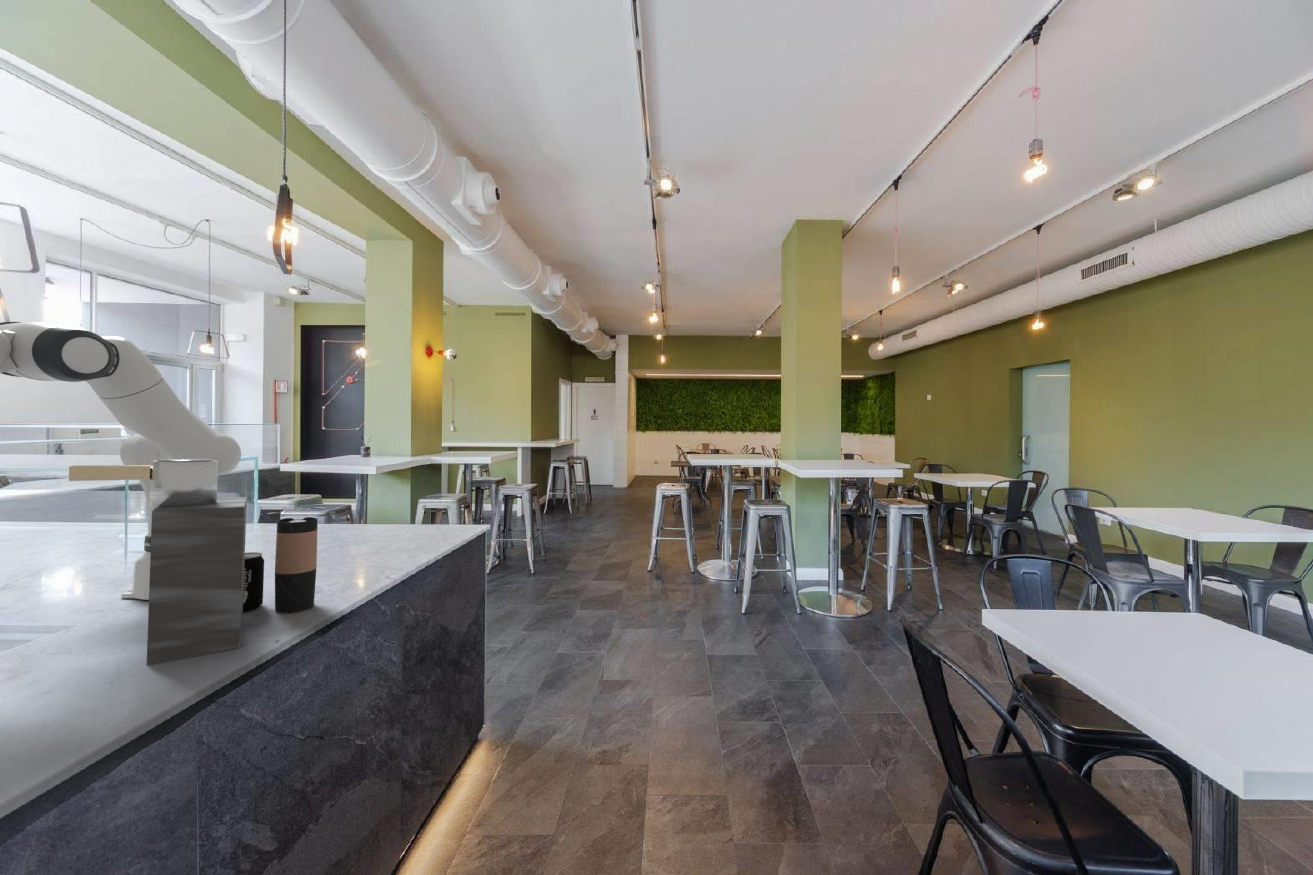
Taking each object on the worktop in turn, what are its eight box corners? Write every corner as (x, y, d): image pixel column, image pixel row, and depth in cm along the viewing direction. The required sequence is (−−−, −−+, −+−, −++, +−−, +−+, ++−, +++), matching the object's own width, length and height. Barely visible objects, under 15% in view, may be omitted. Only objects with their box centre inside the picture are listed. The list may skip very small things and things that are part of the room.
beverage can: (269, 607, 112) (270, 554, 112) (234, 616, 106) (236, 560, 107) (252, 602, 115) (254, 550, 115) (218, 610, 109) (219, 556, 109)
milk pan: (77, 505, 87) (79, 458, 87) (218, 500, 98) (219, 458, 98) (61, 512, 80) (63, 461, 80) (214, 505, 91) (216, 461, 91)
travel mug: (293, 615, 108) (296, 523, 108) (264, 611, 110) (267, 521, 110) (323, 604, 115) (326, 518, 116) (296, 600, 117) (298, 516, 117)
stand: (162, 633, 96) (166, 499, 96) (242, 621, 104) (246, 497, 104) (146, 664, 84) (152, 511, 84) (239, 648, 91) (244, 506, 91)
